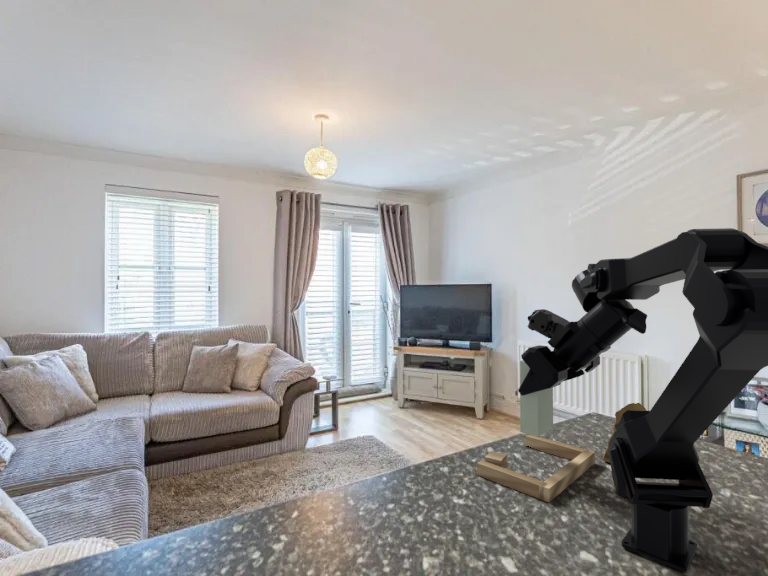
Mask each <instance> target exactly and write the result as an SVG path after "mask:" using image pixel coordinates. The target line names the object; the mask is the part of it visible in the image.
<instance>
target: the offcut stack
mask: <svg viewBox="0 0 768 576" xmlns="http://www.w3.org/2000/svg"><path fill="white" fill-rule="evenodd" d="M484 461H486V462H488V463H491V464H494V465H497V466H500V467H503V468H506V469H508V470H511V465H510V464H511V463H510V462H509V461H508V454H506V453H501V452H498V451H494V450H491V451H489V452H488V453H487V454H486V455H485V456H484Z"/></svg>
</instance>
